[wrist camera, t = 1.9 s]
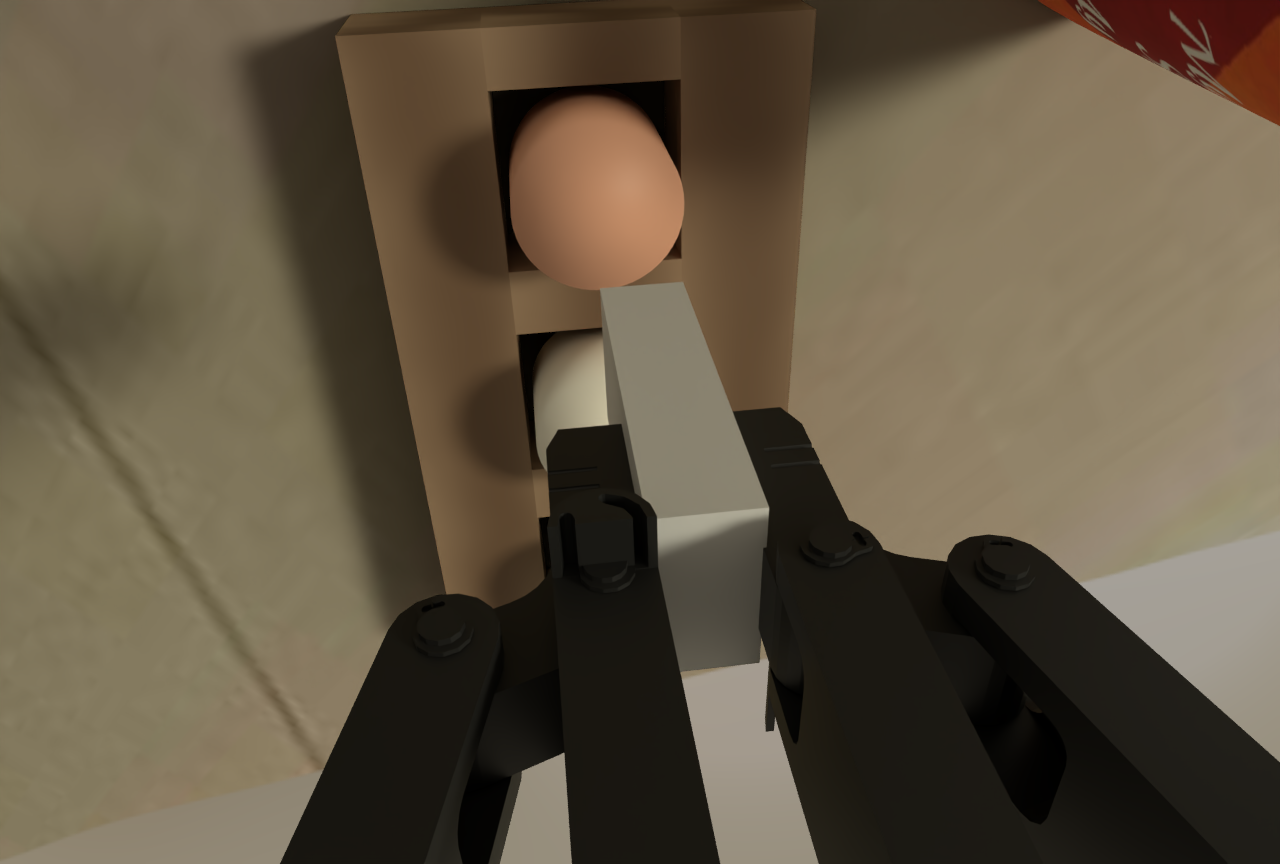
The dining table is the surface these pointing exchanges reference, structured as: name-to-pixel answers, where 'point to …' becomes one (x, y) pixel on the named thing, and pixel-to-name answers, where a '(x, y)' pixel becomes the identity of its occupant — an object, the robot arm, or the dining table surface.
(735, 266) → the walnut panel
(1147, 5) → the coffee cup
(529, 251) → the brown egg
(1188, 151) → the dining table surface
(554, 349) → the cream rounded piece
